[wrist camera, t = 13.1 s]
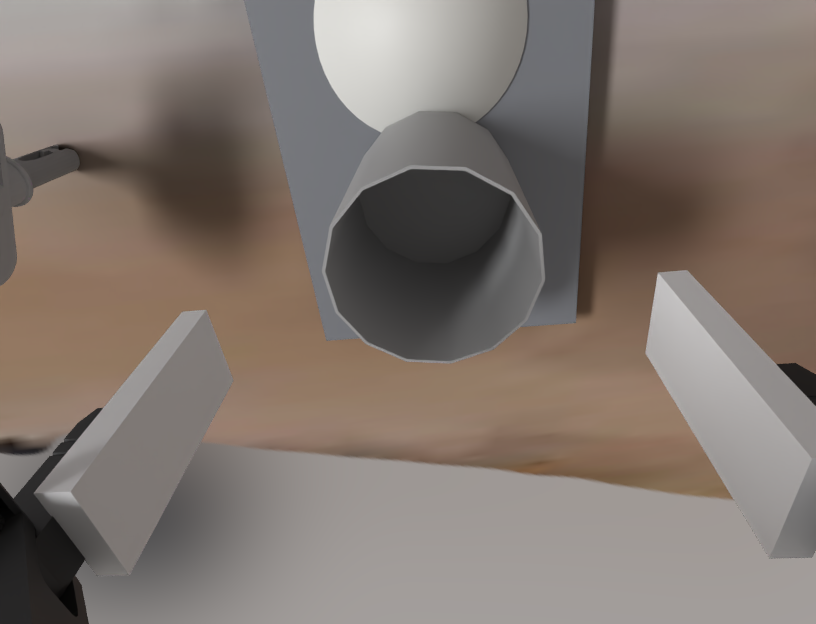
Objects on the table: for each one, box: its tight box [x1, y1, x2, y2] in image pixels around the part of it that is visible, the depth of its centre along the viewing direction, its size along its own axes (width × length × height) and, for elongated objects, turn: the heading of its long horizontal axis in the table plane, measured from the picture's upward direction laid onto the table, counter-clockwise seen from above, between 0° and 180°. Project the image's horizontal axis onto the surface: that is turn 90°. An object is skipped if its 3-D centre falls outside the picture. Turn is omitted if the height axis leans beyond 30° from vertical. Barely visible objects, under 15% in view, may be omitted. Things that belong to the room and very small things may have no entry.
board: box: [244, 0, 595, 341], centre depth 26 cm, size 22×16×5 cm
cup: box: [322, 111, 545, 363], centre depth 23 cm, size 8×8×10 cm
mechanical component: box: [0, 124, 80, 286], centre depth 25 cm, size 3×10×10 cm, turn 163°
